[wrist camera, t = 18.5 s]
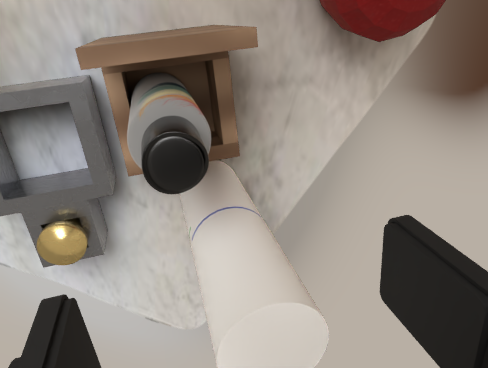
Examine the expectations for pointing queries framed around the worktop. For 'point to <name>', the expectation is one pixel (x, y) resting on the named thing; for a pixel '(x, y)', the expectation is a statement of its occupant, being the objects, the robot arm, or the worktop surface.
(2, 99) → the socket
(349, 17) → the apple
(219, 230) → the cylindrical container
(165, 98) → the lotion bottle
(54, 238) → the pin
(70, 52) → the worktop surface
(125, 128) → the rack
